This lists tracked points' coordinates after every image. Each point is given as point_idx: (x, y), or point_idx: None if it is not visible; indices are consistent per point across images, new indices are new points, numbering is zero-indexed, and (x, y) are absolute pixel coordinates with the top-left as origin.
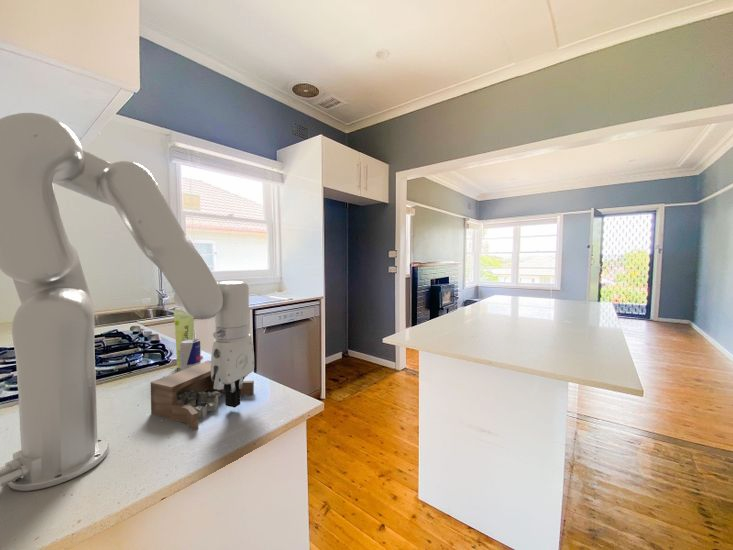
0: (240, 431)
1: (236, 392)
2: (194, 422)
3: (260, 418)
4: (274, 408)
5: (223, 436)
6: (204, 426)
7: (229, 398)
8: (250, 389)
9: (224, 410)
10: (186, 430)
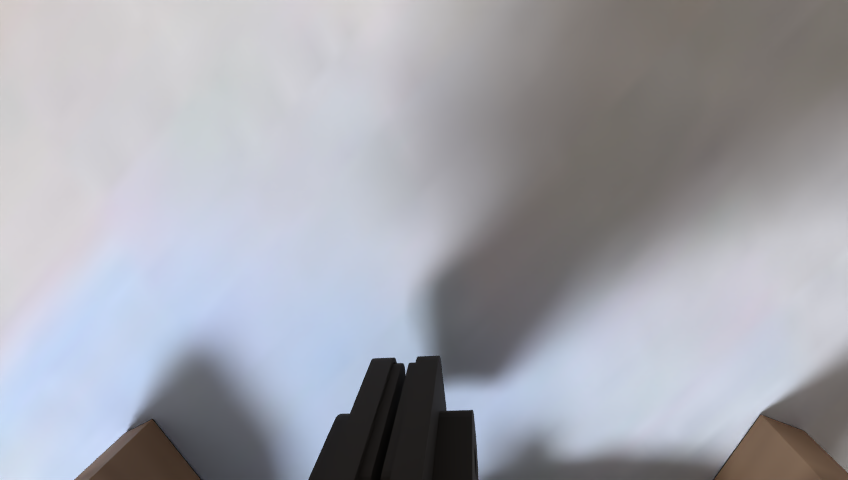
0: (678, 35)
1: (408, 471)
2: (836, 473)
3: (401, 40)
4: (190, 58)
5: (808, 120)
6: (716, 394)
7: (474, 473)
8: (124, 471)
9: None
10: None
